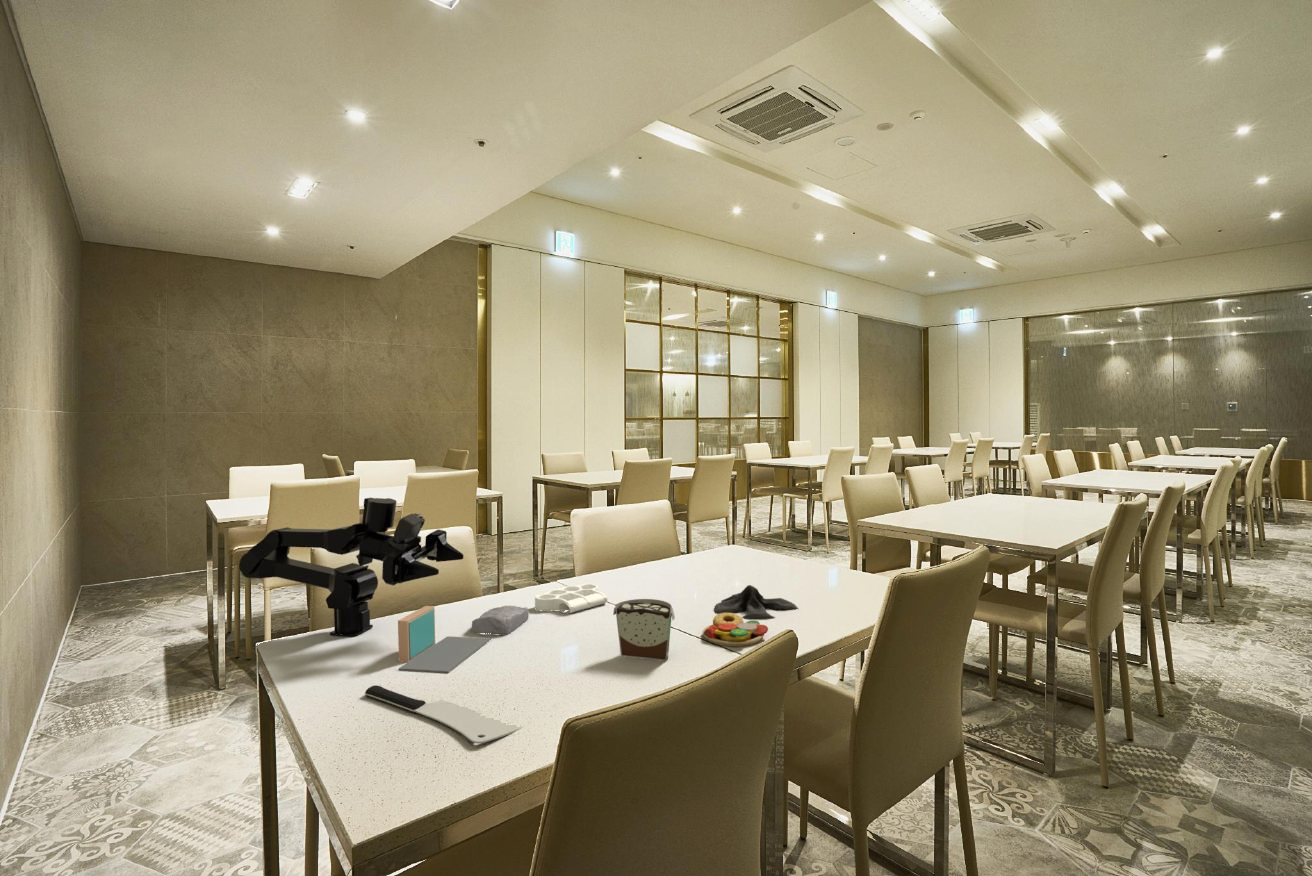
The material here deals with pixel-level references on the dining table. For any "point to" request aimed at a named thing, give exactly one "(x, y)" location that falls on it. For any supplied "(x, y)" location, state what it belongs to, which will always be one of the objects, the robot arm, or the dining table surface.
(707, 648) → the dining table surface
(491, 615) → the stone block
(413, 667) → the mat
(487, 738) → the kitchen cleaver
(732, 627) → the toy food set
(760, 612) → the cloth
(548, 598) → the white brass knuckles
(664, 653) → the food container
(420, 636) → the tan flat block
